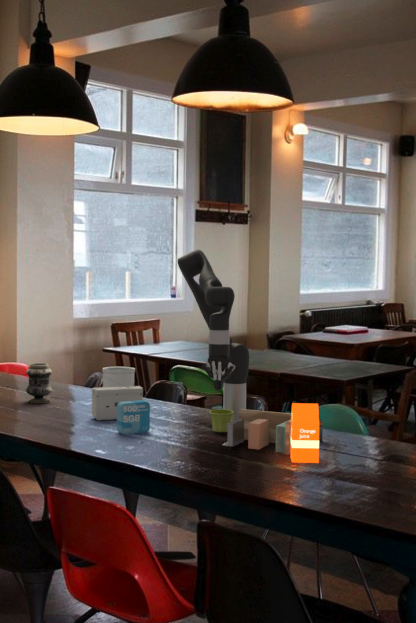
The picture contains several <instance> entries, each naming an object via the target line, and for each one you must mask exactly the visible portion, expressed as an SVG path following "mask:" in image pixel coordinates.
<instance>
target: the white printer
mask: <svg viewBox="0 0 416 623" xmlns="http://www.w3.org/2000/svg"><path fill="white" fill-rule="evenodd" d="M97 374H98V375H101V376H102V377H103V376H104V375H103V374H101V373H100V372H98V373H97ZM104 377H106V376H104ZM106 378H108V377H106ZM108 379H110V378H108ZM110 380H112V381H114V382H117V381H115V380H113V379H110ZM117 383H119V382H117ZM119 384H121V383H119ZM121 385H123V384H121ZM143 392H144V388H143V387H142V386H141V385H134V386H125V385H123V387H103V386H102V387H100V386H99V387H92V388H91V416H92V417H93V418H94V419H95V420H96V421H110V420H117V404H118V403H119V402H125V401H138V400H143V398H144V397H143V396H144V393H143ZM143 401H144V400H143Z"/></svg>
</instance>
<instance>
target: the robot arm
mask: <svg viewBox="0 0 416 623" xmlns="http://www.w3.org/2000/svg"><path fill="white" fill-rule="evenodd" d="M177 266H178V268H179V271H180V272H181V274H182V276H183V278H184V280H185V282H186V283H187V285H188V287H189V289H190V291H191V293H192V295H193V297H194V299H195V301H196V304H197V306H198V309H199V310H200V311H199V312H200V313H201V315H202V318H203V320H204V321H205V323H206V325H207V327H208V329H209V332H208V333H209V334H208V358H207V361H206V362H205V363H202V364H201V367H202V368H203V369H204V372H206V374H207V376H208V377H209V379H213V382H214V383H213V385H214V386H213V388H214V389H215V391H219V392H221V391H223V404H222V405H223V407H222V408H223V409H225V410H231V411H233V412H234V413H233V414H232V417H231V422H233V421H236V420H238V419H239V409H247V378H248V376H249V369H250V368H249V366H250V352H249V348H248V347H247V346H246V345H245V344H243V343H236V342H234V341H233V340H232V338H231V336H230V317H231V313H232V308H233V305H234V302H235V291H234V290H233V288H232V287H231V286H223V284H222V281H220V279H219V278H218V276H216V274H215V272H214V269H213V267H212V265H211V263H210V261H209V258H207V256H206V255H205V253H204V251H202V250H201V249H194V250H192V251H189V252H188V253H187V254H184V255H181V256H180V257H179V258H178V259H177ZM197 276H199V277H198V282H197V281H196V280H195V279H194V278H195V277H197ZM226 369H227V370H226Z"/></svg>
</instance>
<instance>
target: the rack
mask: <svg viewBox="0 0 416 623" xmlns="http://www.w3.org/2000/svg"><path fill="white" fill-rule="evenodd" d="M239 419H243V420H244V441H248V424H249V423H250V422H252V421H254V420H257V419H266V420H269V443H273V444H276V426H277V425H279V424H281V423H284V422H286V421H287V422H286V428H285V453H282V452H281V455H287V456H289V455H291V413H290V412H277V411H268V410H267V411H265V410H256V409H247V408H246V409H239Z"/></svg>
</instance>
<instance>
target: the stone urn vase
mask: <svg viewBox="0 0 416 623" xmlns="http://www.w3.org/2000/svg"><path fill="white" fill-rule="evenodd" d="M52 374H53V371H52V369H51V368H50V366H49V363H46V362H31V363H30V364H29V368H28V369H27V370H26V375H27V376H28V385H27V386H26V388H25V392H26V393H27V394H28V395H29V396H31V397H34V398H31V399H29V400H28V401H27V402H28V403H29V402H30V403H29V404H46V403H49V402H51V401H50V399H47V398H45V397H46V396H48V395H50V394H51V393H52V391H53V389H52V387H51V386H50V376H51V375H52Z"/></svg>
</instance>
